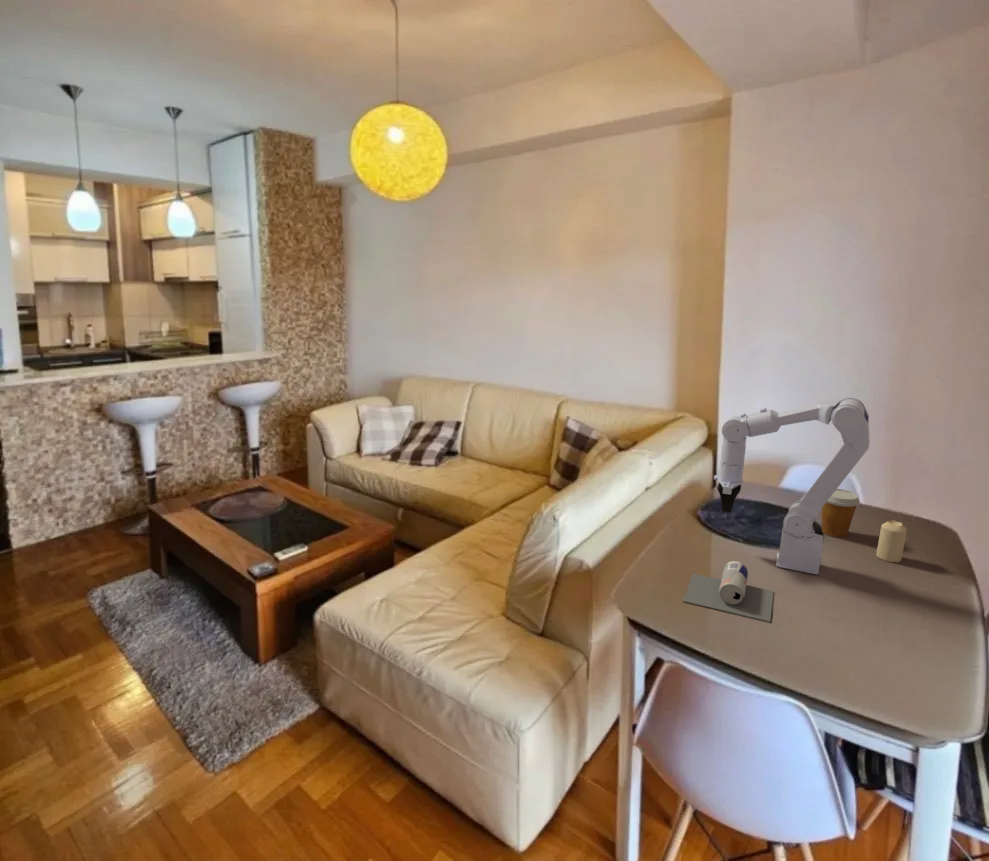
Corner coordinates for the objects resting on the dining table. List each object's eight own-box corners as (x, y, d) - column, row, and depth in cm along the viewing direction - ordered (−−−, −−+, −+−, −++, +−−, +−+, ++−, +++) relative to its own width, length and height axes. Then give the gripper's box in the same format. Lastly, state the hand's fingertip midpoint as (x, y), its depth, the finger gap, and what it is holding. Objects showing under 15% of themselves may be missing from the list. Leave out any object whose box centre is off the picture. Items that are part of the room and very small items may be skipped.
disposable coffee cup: (860, 540, 164) (867, 500, 161) (826, 540, 164) (832, 499, 161) (841, 526, 173) (848, 487, 170) (809, 526, 173) (814, 487, 170)
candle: (878, 560, 153) (884, 524, 150) (874, 551, 157) (880, 516, 155) (903, 564, 151) (910, 528, 148) (898, 555, 155) (905, 520, 153)
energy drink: (742, 584, 141) (738, 609, 131) (720, 574, 143) (714, 598, 133) (751, 566, 139) (748, 590, 129) (728, 556, 141) (723, 579, 131)
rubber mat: (773, 592, 137) (773, 590, 137) (770, 622, 125) (770, 621, 125) (693, 574, 145) (693, 573, 145) (682, 601, 133) (682, 600, 133)
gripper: (718, 453, 162) (713, 499, 165) (712, 468, 149) (707, 517, 153) (746, 456, 159) (741, 503, 162) (742, 472, 146) (736, 522, 150)
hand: (726, 510), depth 157 cm, fingers closed
